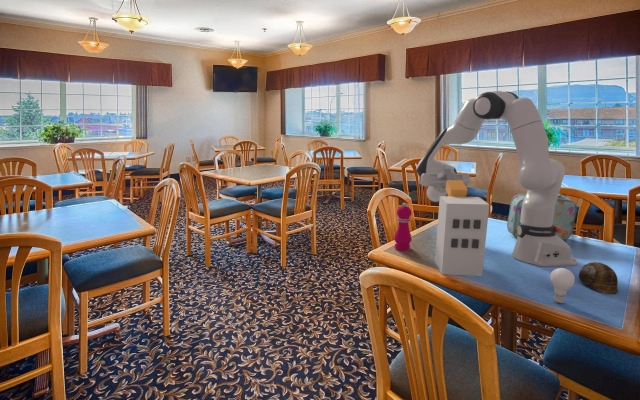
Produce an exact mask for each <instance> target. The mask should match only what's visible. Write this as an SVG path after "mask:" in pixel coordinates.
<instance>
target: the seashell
mask: <svg viewBox="0 0 640 400" xmlns="http://www.w3.org/2000/svg"><path fill="white" fill-rule="evenodd" d="M578 278H579V281H580V282H581V283H582V284H583V285H585V286H588V287H589V288H591V289H592V290H595V291H596V292H600V293H601V294H606V293H607V295H610V294H611V295H612V294H616V293H619V288H618V287H619V285H618V284H619V279H618V275H617V274H616V272H615V270H614V269H613V268H612V267H610V266H609V265H608V264H605V263H602V262H597V261H596V262H595V261H594V262H592V261H591V262H589V263H588V262H587V263H586V264H584V265H583V266H582V267H581V268H580V270H579V272H578Z"/></svg>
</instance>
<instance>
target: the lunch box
mask: <svg viewBox="0 0 640 400" xmlns="http://www.w3.org/2000/svg"><path fill="white" fill-rule="evenodd" d="M525 196H526V193H518V194H515V195H514V196H513V197H512V198H511V200H510V205H509V210H508V211H509V212H508V216H507V217H508V218H507V223H506V228H507V231H508V233H510V234H511V235H512V236H513V237H514V238H515V239H517V237H518V235H517V234H518V232H517V231H518V225H519V221H520V219H521V210H522V203H523V200H524V198H525ZM576 213H577V203H576V202H575V201H574V200H572V199H570V198H569V197H567V196H565V195H564V194H561V193H559V195H558V198H557V201H556V205H555V210H554V217H553V224H552V225H554V226H556V227H559V228H561V229H562V232H561V233H560V234H559V233H557V232H556V235H557V236H558V237H560V238H561V239H562V240H563V241H564V242H565V241H567V240H568V239H570V237H571V236H572V234H573V232H574V231H573V230H574V224H575V220H576Z"/></svg>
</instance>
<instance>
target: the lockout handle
mask: <svg viewBox="0 0 640 400" xmlns="http://www.w3.org/2000/svg"><path fill="white" fill-rule="evenodd" d="M444 172H446V176H445V179H446V181H447V182H446V188H445V190H446V192H447V194H446V195H447V196H455V197H468V196H467V195H468V191H469V190H468V188H467V186H465V184H464V182H463V180H455V178H454V176H453V174H452V172H451V170H450V169H444Z"/></svg>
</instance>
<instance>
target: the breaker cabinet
mask: <svg viewBox="0 0 640 400" xmlns="http://www.w3.org/2000/svg"><path fill="white" fill-rule="evenodd" d="M438 203H439V205H438V216H437V218H438V219H437V231H436V244H435V245H436V246H435V259H434V263H435V264H436V266H437V269H438V270H439V272H440V274H441V275H445V274H449V275H450V276H472V277H474V276H476V277H482V276H483V272H484V271H483V270H484V264H485V263H484V262H485V261H484V260H485V253H486V250H485V249H486V243H487V242H486V241H487V232H488V231H487V230H488V224H489V223H488V221H489V214H490V213H489V212H490V204H489V203H488V202H487V201H485V200H484V199H482V198H481V197H479V196H466V197H455V196H448V195H446V196H440V200H439V201H438Z"/></svg>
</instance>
